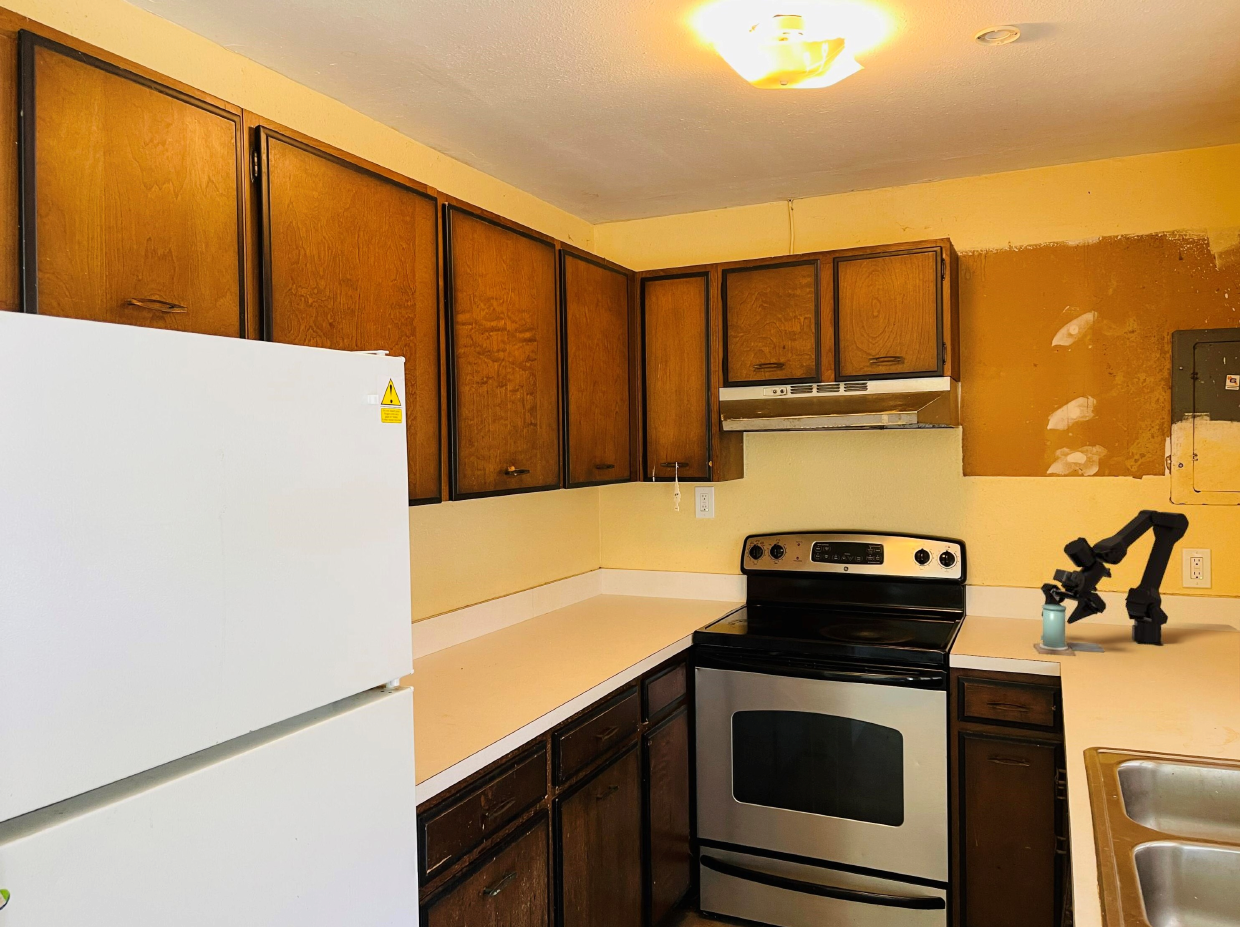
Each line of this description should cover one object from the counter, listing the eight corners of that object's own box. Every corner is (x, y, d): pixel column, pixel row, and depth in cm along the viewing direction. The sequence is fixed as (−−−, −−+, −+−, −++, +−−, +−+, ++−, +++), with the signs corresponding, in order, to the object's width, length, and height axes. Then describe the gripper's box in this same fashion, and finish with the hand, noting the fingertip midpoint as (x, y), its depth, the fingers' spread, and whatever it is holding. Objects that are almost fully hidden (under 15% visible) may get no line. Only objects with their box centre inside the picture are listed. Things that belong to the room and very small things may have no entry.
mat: (1097, 645, 254) (1097, 643, 254) (1103, 652, 247) (1103, 650, 247) (1066, 644, 257) (1066, 641, 257) (1072, 650, 249) (1072, 648, 249)
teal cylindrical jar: (1063, 643, 250) (1063, 604, 250) (1067, 648, 245) (1068, 608, 244) (1039, 642, 252) (1039, 603, 252) (1042, 647, 246) (1043, 607, 246)
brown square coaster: (1068, 648, 251) (1068, 642, 251) (1074, 655, 243) (1074, 650, 243) (1033, 646, 254) (1033, 641, 254) (1038, 653, 245) (1038, 648, 245)
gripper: (1046, 555, 258) (1014, 594, 255) (1098, 563, 241) (1065, 606, 238) (1067, 580, 261) (1036, 620, 258) (1121, 591, 243) (1088, 634, 240)
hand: (1055, 619), depth 248 cm, fingers open, 9 cm apart
